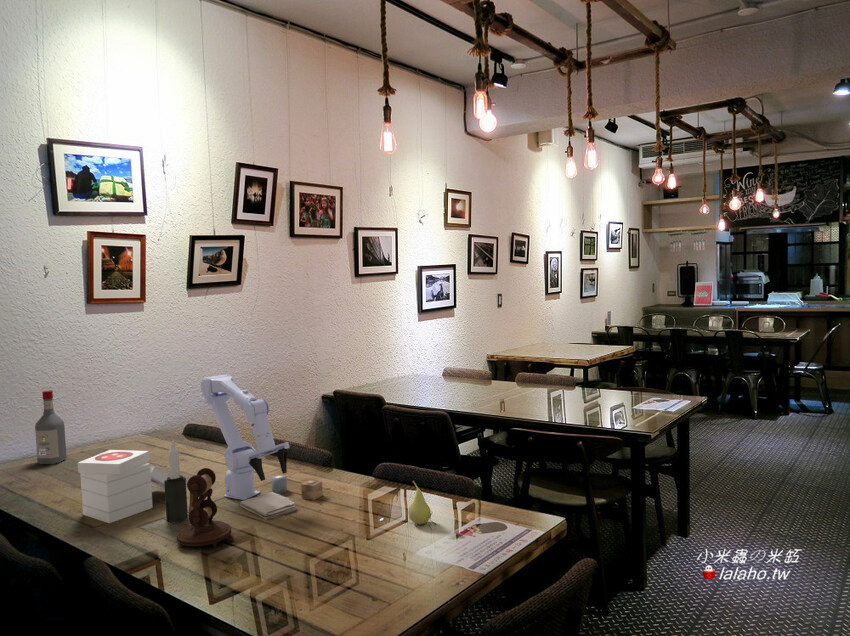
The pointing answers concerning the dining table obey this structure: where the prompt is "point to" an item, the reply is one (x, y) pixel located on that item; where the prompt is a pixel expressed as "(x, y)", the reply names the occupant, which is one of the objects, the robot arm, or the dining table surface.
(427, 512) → the fruit
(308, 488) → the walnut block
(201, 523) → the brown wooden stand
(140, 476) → the pizza boxes
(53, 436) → the liquor
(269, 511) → the washcloth
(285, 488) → the slate cylinder
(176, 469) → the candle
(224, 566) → the dining table surface
